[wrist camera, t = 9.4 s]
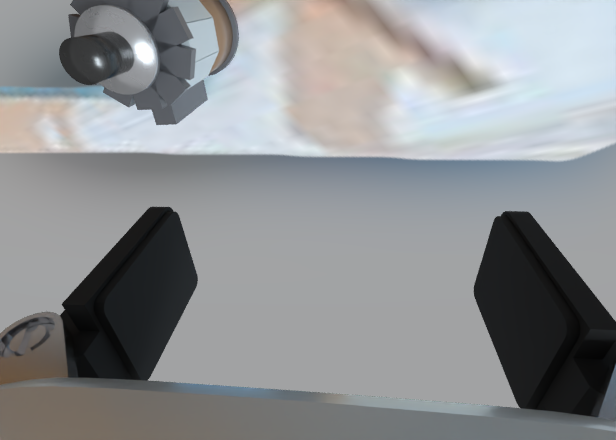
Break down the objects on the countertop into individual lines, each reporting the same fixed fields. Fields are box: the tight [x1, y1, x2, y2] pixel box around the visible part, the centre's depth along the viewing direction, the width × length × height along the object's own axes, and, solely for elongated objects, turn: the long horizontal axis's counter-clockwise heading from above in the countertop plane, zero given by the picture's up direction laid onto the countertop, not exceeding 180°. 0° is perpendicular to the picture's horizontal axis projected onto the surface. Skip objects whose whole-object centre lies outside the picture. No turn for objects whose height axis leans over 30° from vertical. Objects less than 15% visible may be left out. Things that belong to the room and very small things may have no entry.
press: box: [69, 0, 239, 125], centre depth 34 cm, size 10×12×15 cm
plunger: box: [59, 5, 160, 95], centre depth 28 cm, size 6×6×13 cm
